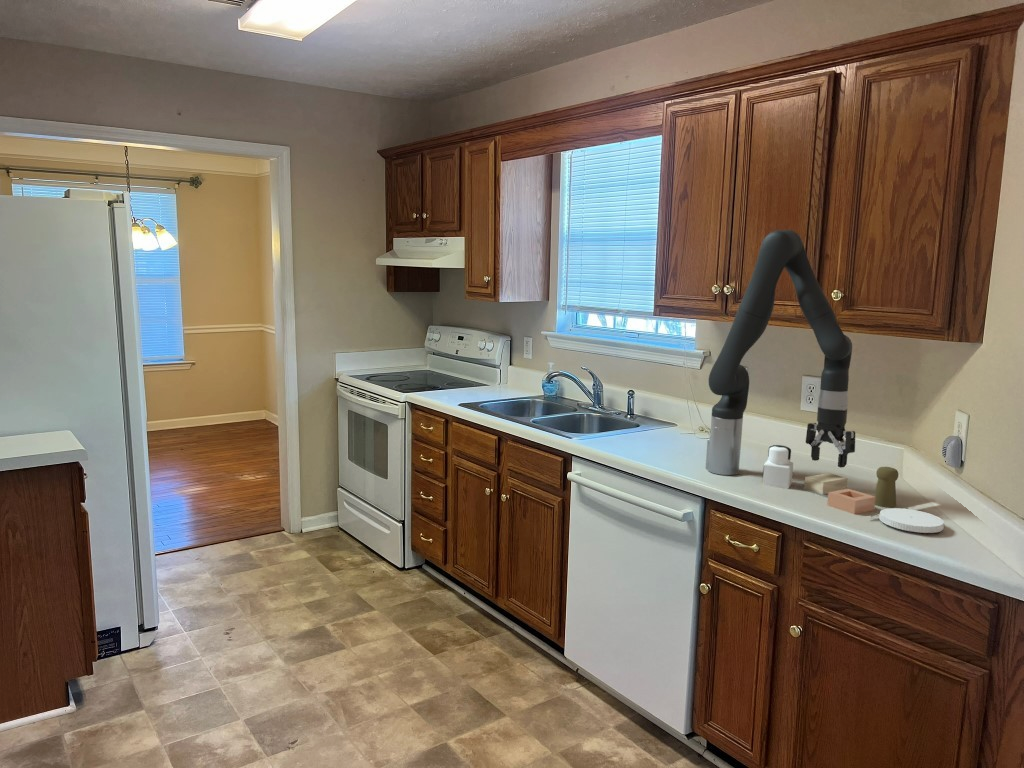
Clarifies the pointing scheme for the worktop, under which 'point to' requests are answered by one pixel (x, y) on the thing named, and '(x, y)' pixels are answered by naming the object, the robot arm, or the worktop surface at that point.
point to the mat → (810, 491)
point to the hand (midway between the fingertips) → (828, 463)
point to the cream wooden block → (825, 483)
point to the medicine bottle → (778, 467)
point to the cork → (886, 487)
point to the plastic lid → (911, 520)
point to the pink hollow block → (851, 501)
